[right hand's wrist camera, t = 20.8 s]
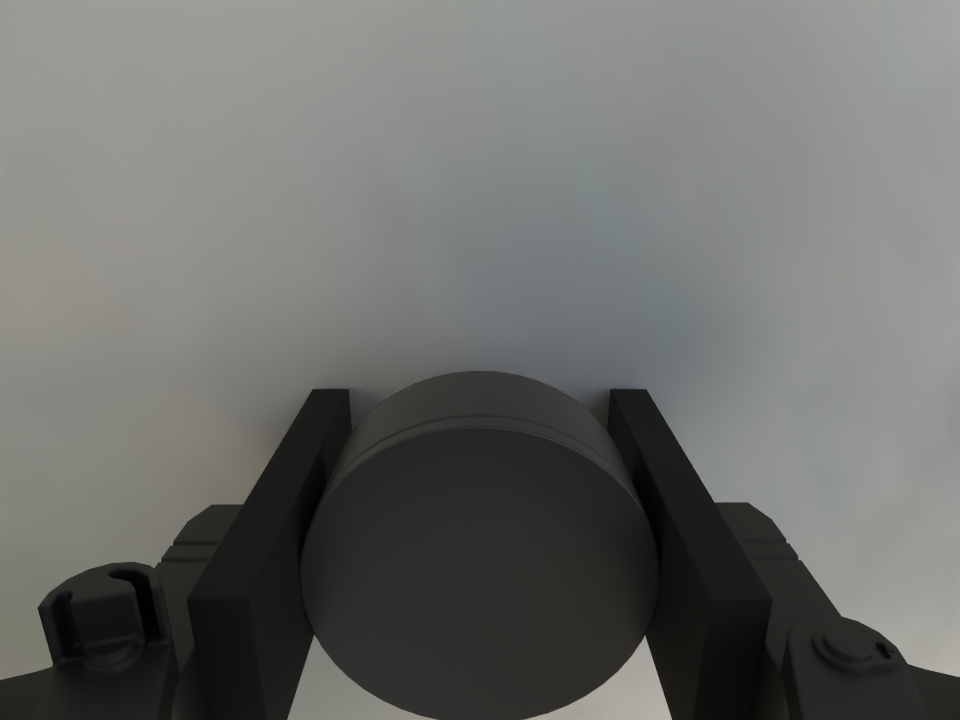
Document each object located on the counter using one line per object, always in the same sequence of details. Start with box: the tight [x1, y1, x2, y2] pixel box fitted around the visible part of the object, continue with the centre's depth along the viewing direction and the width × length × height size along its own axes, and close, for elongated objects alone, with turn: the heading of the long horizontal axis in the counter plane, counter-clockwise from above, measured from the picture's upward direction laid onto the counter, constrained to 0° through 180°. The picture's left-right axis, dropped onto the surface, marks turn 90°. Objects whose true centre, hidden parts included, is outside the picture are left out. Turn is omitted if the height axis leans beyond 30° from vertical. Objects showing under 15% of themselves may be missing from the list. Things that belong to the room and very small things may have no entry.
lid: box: [299, 371, 660, 720], centre depth 11 cm, size 6×6×2 cm
